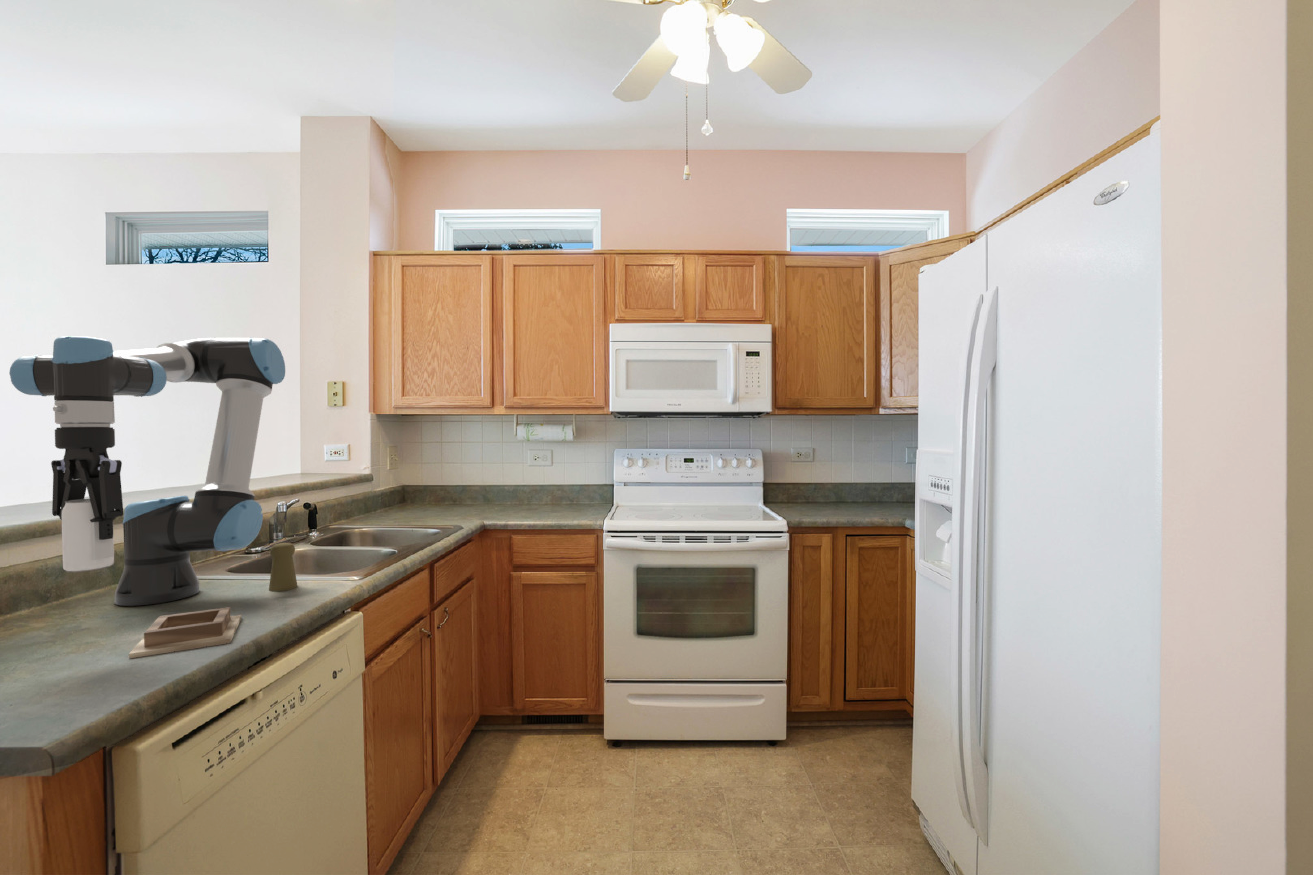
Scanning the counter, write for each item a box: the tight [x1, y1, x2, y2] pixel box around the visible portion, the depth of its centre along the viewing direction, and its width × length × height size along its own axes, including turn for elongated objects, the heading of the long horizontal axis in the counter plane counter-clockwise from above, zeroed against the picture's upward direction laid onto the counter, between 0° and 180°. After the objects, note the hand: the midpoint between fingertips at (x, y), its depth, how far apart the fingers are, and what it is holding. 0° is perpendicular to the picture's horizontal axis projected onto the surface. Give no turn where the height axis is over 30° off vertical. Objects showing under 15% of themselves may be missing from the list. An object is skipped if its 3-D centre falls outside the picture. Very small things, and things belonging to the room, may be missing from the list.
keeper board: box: [128, 606, 242, 659], centre depth 110 cm, size 16×14×3 cm
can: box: [61, 498, 115, 573], centre depth 103 cm, size 6×6×12 cm
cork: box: [268, 542, 298, 592], centre depth 144 cm, size 6×6×11 cm
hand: (88, 556), depth 103 cm, fingers closed on can, 6 cm apart
